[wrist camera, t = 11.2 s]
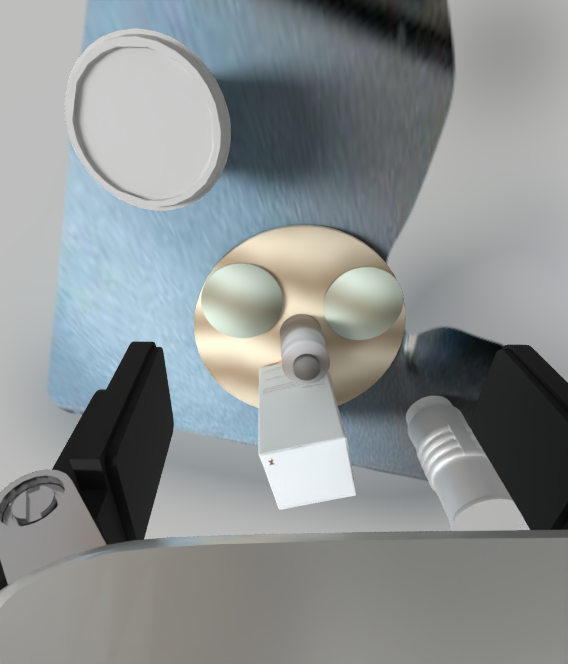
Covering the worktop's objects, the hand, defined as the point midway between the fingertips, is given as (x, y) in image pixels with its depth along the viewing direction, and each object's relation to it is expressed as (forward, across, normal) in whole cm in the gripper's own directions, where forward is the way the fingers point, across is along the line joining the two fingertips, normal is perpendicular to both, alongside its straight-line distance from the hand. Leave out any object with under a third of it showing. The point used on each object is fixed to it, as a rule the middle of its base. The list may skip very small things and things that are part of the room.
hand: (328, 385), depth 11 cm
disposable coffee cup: (+29, +9, -4) cm, 30 cm away
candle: (+28, -19, +27) cm, 43 cm away
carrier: (+28, -2, +15) cm, 32 cm away
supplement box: (+26, -2, +21) cm, 34 cm away
